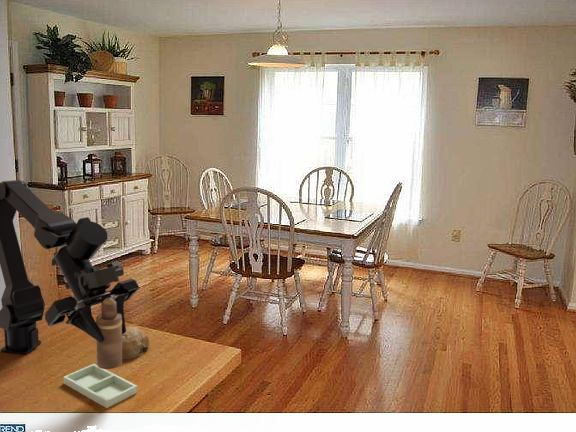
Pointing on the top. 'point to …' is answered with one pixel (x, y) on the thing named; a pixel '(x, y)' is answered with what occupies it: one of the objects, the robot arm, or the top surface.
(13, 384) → the top surface
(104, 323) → the pepper mill
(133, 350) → the bread roll
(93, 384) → the caddy
